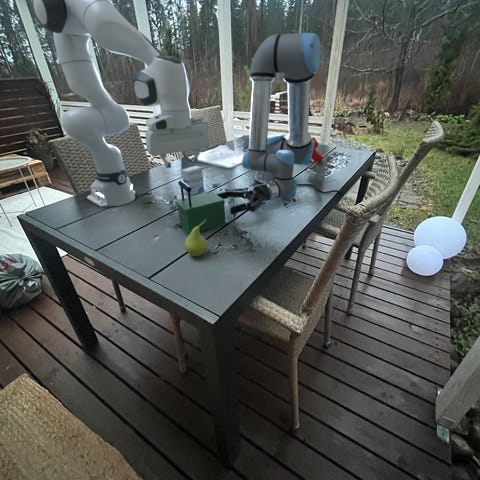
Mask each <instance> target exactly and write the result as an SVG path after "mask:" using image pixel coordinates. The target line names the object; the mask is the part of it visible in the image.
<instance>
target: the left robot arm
mask: <svg viewBox="0 0 480 480" xmlns="http://www.w3.org/2000/svg"><path fill="white" fill-rule="evenodd" d="M32 7H33V10H34V14H35V16H36V19H37V21H38V22H39V23H40V25H41V26H42V27H43V28H44V29H45V30H47V31H48V32H51V33H53V34H52V37H53V38H52V39H53V43H54V48H55V51H56V55H57V59H58V61H59V64H60V67H61V70H62V72H63V75H64V77H65V80H66V82H67V86H68V87H69V89H70V91H72V93H74V94H75V95H77V96H80V97H82V98H84V99H85V100H86V101H87V102H88V103H89V105H90V106H83V107H75V108H71V109H69V110H66V111H64V112H63V113H62V116H61V126H62V128H63V131H64V132H65V133H66V134H67V135H68V136H69V137H70V138H71V139H74V140H76V141H78V142H79V143H81V144H82V145H83V146H84V147H85V148H86V149H87V151H88V152H89V154H90V155H91V158H92V161H93V163H94V166H95V169H96V170H95V171H94V175H95V177H96V178H95V180H94V181H93V183H91V184H90V193H91V194H88V195H87V197H86V199H87V201H89V202H91V203H93V204H94V205H96V206H98V207H100V208H109V207H118V206H123V205H127V204H129V203H132V202H133V201H134V200H135V199H136V194H137V192H136V191H135V190H134V188H133V187H134V185H133V184H132V183H131V179H130V178H129V176H128V171H127V169H126V167H125V164H124V160H123V156H122V153H121V150H120V149H119V148H118V147H117V146H115V145H113V144H109V143H107V142H106V140H105V137H106V136H111V135H117V134H120V133H122V132H124V131H126V130H128V129H129V128H130V124H131V119H130V115H129V113H128V111H127V110H126V109H125V108H124V107H123V106H122V105H120V104H118V103H117V102H116V101H114V99H113V98H112V96H111V97H110V95H109V93H108V92H107V91H106V89H105V87H104V85H103V83H102V81H101V78H100V75H99V73H98V70H97V67H96V65H95V62H94V59H93V56H92V53H91V51H90V46H89V41H90V40H92V41H93V42H95V43H96V44H98V46H100V47H101V48H103V49H104V50H106V51H108V52H110V53H113V54H119V55H124V56H127V57H131V58H134V59H136V60H138V61H140V62H141V63H143V64H144V65H145V66H146V67H145V68H143V69H141V70H138V71H137V72H136V73H135V74H134V76H133V79H132V90H133V93H134V96H135V98H136V99H137V101H138V102H139V103H140V104H142V106H145V107H158V106H159V113H158V114H156V115H154V116H152V117H150V118H148V119H146V120H145V125H146V127H147V130H146V131H145V146H146V147H145V148H146V151H147V153H148V154H149V155H150V156H152V157H156V156H157V157H158V156H159V157H160V159H161V160H162V162H164V167H165V168H166V169H171V168H172V162H171V161H170V160H167V159H166V158H167V155H169V154H176V153H181V152H188V151H193V152H194V154H193V156H194V157H192V160H191V162H192V163H193V164H197V163H199V161H198V156H199V154H200V152H201V149H207V148H209V147H210V144H211V141H210V135H209V131H208V130H209V122H208V120H207V119H206V118H204V117H202V116H201V117H192V115H191V106H190V104H189V95H190V89H191V88H190V82H189V78H188V77H187V71H186V68H185V64H184V61H183V60H182V59H180V58H179V57H178V56H177V57H176V56H173V55H167V54H163V53H162V52H161V51H160V50H159V49H158V48H157V46H155V44H154V43H152V41H150V39H149V38H147V36H146V35H144V34H143V32H141V31H139V30H138V29H137V28H136V27H135V26H134V25H132V24H131V23H130V22H129V21H128V20H127V19H126V18H125V17H124V16H123V15H122V14H121V13H120V12H119V10H118V9H117V8H116V7H115V6H114V4H113V3H112V2H111V0H32Z"/></svg>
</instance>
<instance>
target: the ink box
mask: <svg viewBox="0 0 480 480" xmlns="http://www.w3.org/2000/svg"><path fill="white" fill-rule="evenodd" d="M181 175H182V181H183V182H184V183H186V184H187V185H188V186H190V187H191V189H192V190H191V192H190V195H191V196H195V195H198V194H199V193H200V194H201V193H202V192H205V187H204V173H203V168H202V167H201V166H199V165H194V166H190V167H186V168H183V169H181ZM183 192H184V194H185V195H188V192H187V191H186V190H184V189H183Z"/></svg>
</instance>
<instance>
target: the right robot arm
mask: <svg viewBox="0 0 480 480" xmlns="http://www.w3.org/2000/svg"><path fill="white" fill-rule="evenodd" d="M321 53H322V51H321V42H320V38H319V36H318V35H317V34H316V33H314V32H312V33H311V32H300V33H299V32H298V33H282V34H281V33H275V34H272V35H270V36H268V37H266V38H265V39H264V40H263V41H262V42H261V44H260V45H259V46H258V48H257V50H256V52H255V54H254V57H253V59H252V61H251V66H250V73H249V74H250V75H249V79H250V81H252V87H251V88H252V89H251V103H250V119H249V120H250V122H249V137H248V151H245V152H244V155H243V159H242V164H241V165H242V167H243V168H244V169H245V170H250V171H252V172H253V171H255V172H256V174H255V177H254V181H255V183H258V184H257V185H255V186H254V187H253V188H252V189H249V187H248V186H246V187H233V188H232V187H231V188H225V191H223V192H219V193H216V194H217V195H218V196H219V197H221V198H222V199H224V200H226V199H229V198H242V200H248V201H247V202H243V203H241V204H237V205H234V206H230V215H234V214H238V213H242V212H245V211H247V212H249V211H250V212H251V213H254V212H256V210H258V209H259V208H260V207H262V206H264V205H266V202H269V201H272V200H276V199H279V198H283V197H286V196H290V195H292V194H295V193H296V191H297V189H298V186H299V187H305V186H306V187H307V186H309V187H312V188H315V189H316V191H318V192H320V193H322V194H331V193H338V194H340V195H343V192H342V191H340V190H338V189H333V190H327V191H326V192H323V191H324V190H322V189H320V188H319V187H318V186H317V185H315V184H312V183H297V180H296V178H294V177H293V175H294V166H295V165H299V166H307V165H309V164H310V162H311V160H312V158H311V156H312V153H313V149H314V145H315V141H314V140H311V138H312V135H311V133H309V123H310V121H309V120H310V95H311V81H312V80H313V79H314V78H315V74H316V73H318V72H319V69H320V65H321V57H322V56H321ZM276 73H277V74H279V73H280V74H283V81H284V82H285V83H286V84H287V110H288V111H287V113H288V134H287V135H286V137H285V135H284V133H280V132H279V133H278V132H277V133H269V121H270V111H271V110H270V109H271V100H272V99H271V98H272V87H273V82H274V81H275V79H276ZM268 133H269V134H268ZM314 185H315V186H314ZM316 186H317V187H318V188H319V189H318V188H317V187H316ZM321 190H322V191H321Z"/></svg>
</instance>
